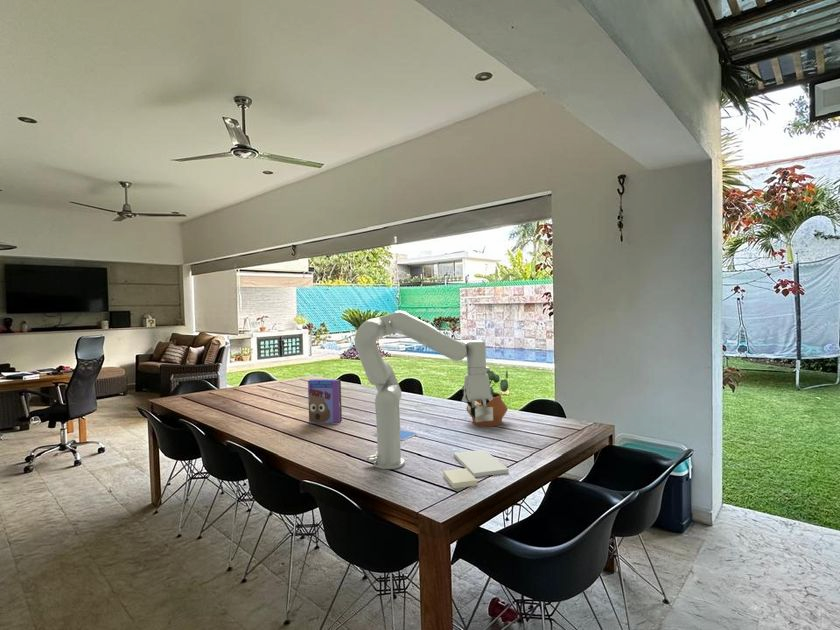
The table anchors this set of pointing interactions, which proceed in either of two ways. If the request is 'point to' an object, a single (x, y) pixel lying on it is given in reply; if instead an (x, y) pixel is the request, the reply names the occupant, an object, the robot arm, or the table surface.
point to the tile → (460, 478)
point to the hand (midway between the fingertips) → (478, 416)
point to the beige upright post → (482, 412)
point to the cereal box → (324, 401)
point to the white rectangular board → (480, 463)
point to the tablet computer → (404, 434)
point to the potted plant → (494, 401)
